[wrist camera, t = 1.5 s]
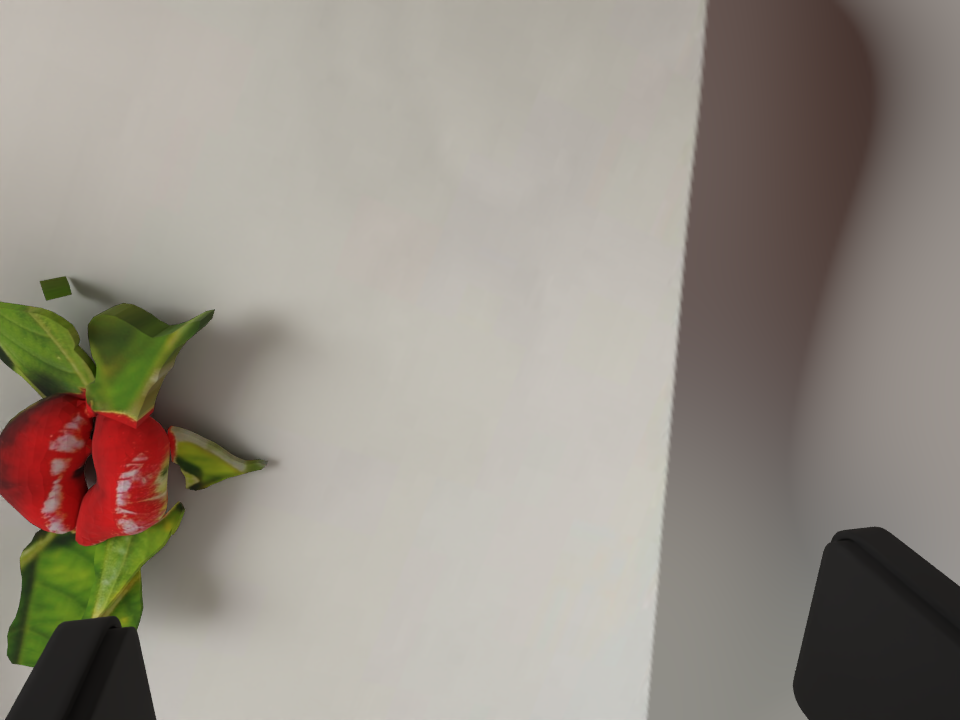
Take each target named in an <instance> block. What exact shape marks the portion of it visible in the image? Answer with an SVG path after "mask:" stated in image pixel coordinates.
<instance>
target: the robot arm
mask: <svg viewBox="0 0 960 720" xmlns="http://www.w3.org/2000/svg"><path fill="white" fill-rule="evenodd" d="M793 690H794V695H795V698H796V701H797V703H798V705H799V707H800V708H801V710H802V711H803V713H804V714H805V715H806V717H807V718H808V719H809V720H960V586H958V585H957V584H956V583H955V582H953V581H952V580H951V579H949V578H948V577H947V576H945V575H944V574H943V573H942V572H940V571H939V570H938V569H936V568H935V567H934V566H933V565H931V564H930V563H929V562H927V561H926V560H925V559H923V558H922V557H921V556H920V555H918V554H917V553H916V552H914V551H913V550H912V549H911V548H909V547H908V546H907V545H905V544H904V543H903V542H902V541H900V540H899V539H898V538H896V537H895V536H894V535H892V534H891V533H890V532H888V531H887V530H885V529H883V528H880V527H867V528H859V529H850V530H843V531H839V532H837V533H836V534H835V535H834V536H833V538H832V541H831V543H829V544H827V546H826V547H825V549H824V552H823V556H822V560H821V565H820V569H819V573H818V577H817V582H816V586H815V590H814V595H813V599H812V603H811V607H810V612H809V616H808V620H807V625H806V629H805V633H804V637H803V641H802V646H801V650H800V654H799V659H798V663H797V667H796V671H795V676H794V680H793ZM5 720H156V716H155V712H154V707H153V702H152V698H151V693H150V688H149V684H148V679H147V674H146V670H145V665H144V660H143V656H142V651H141V646H140V642H139V637H138V633H137V630H136V629H135V627H132V626H130V627H122V626H121V623H120V620H119V619H118V618H117V617H116V616H107V617H98V618H90V619H81V620H73V621H64V622H62V623H61V624H59V625H58V626H57V628H56V629H55V630H54V632H53V634H52V636H51V637H50V639H49V641H48V643H47V645H46V646H45V648H44V650H43V652H42V654H41V656H40V657H39V659H38V661H37V663H36V665H35V666H34V668H33V670H32V672H31V674H30V675H29V677H28V679H27V681H26V683H25V685H24V686H23V688H22V690H21V692H20V694H19V695H18V697H17V699H16V701H15V703H14V705H13V706H12V708H11V710H10V712H9V714H8V715H7V717H6V719H5Z"/></svg>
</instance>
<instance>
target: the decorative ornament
mask: <svg viewBox="0 0 960 720" xmlns="http://www.w3.org/2000/svg"><path fill="white" fill-rule="evenodd" d="M40 284H41V287H42V290H43V293H44V296H45V298H46V301H47V300H51V299H55V298H59V297H63V296H67V295H71V294H72V293H71V290H70V286H69V283H68V281H67V278H66V276H64V277H59V278H54V279H49V280H44V281H40ZM214 311H215V309H214V310H210V311H206V312H204V313H202V314H200V315H198V316H197V317H195V318H193V319H191V320H190V321H187V322H184V323H181V324H176V325H168V324H166V323H164V322H162V321H160V320H159V319H158V318H156V317H155V316H153V315H152V314H150V313H149V312H147V311H145V310H144V309H142V308H140V307H137V306H135V305H132V304H126V303H123V304H119V305H116V306H114V307H112V308H110V309H108V310H106V311H104V312H102V313H100V314H98V315H96V316H95V317H93V319H92V320H91V321H90V323H89V324H88V338H89V344H90V349H91V354H92V357H93V359H94V361H95V363H96V365H95V364H94V362H93V361H92V359H91V358H90V357H89V356H88V355H87V354H86V352H85V351H84V350H83V349H82V348H81V347H80V346H79V345H78V344H79V341H80V338H79V335H78V333H77V331H76V329H75V328H74V326H73V325H72V324H71V323H70V322H68V321H67V320H65V319H64V318H62V317H61V316H59V315H57V314H56V313H54V312H52V311H49V310H46V309H43V308H38V307H32V306H25V305H19V304H12V303H4V302H0V359H1V360H2V361H3V362H4V363H5V364H6V365H7V366H8V367H10V368H11V369H12V370H13V371H15V372H16V373H17V374H19V375H20V376H22V377H23V378H24V379H25V380H26V381H27V382H28V383H29V384H30V385H31V386H32V387H33V388H34V389H35V390H36V391H37V392H38V394H39V395H40V396H41V397H42V398H43V399H41V400H39V401H37V402H35V403H34V404H32V405H30V406H29V407H27V408H26V409H24V410H23V411H21V412H19V413H18V414H17V415H16V416H15V417H14V418H12V419H11V420H10V421H9V422H8V424H7V425H6V427H5V428H4V429H3V431H2V433H1V435H0V494H1V495H2V496H3V498H4V499H5V500H6V501H7V502H8V503H10V504H11V505H12V506H13V507H14V508H15V509H16V510H17V511H18V512H19V513H20V514H21V515H22V516H24V517H25V518H26V519H27V520H28V521H29V522H30V523H32V524H33V525H35V526H37V527H39V528H41V530H39V531H38V532H37V533H36V534H35V536H34V538H33V540H32V541H31V543H30V544H29V545H28V546H27V547H26V548H25V549H24V550H23V552H22V554H21V557H20V569H21V575H22V591H21V599H20V604H19V608H18V611H17V614H16V618H15V619H14V621H13V622H12V624H11V626H10V628H9V631H8V635H7V639H8V649H7V656H8V658H9V660H10V661H11V663H12V664H19V665H24V666H29V667H34V666H35V665H36V663H37V661H38V659H39V657H40V656H41V654H42V652H43V650H44V648H45V646H46V645H47V643H48V641H49V639H50V637H51V636H52V634H53V632H54V630H55V629H56V628H57V626H58V625H59V624H61V623H62V622H64V621H73V620H81V619H90V618H98V617H107V616H116V617H117V618H118V619H119V620H120V623H121V626H122V627H130V626H132V627H135V629H136V630H137V629H138V626H139V622H140V619H141V615H142V611H143V600H142V581H141V567H142V566H143V564H145V563H146V562H147V561H148V560H149V559H150V558H151V557H153V556H154V555H155V554H156V553H157V552H159V551H160V550H161V549H162V548H163V547H164V546H165V545H166V543H167V541H168V540H169V538H170V537H171V535H174V533H175V532H176V530H177V529H178V527H179V525H180V522H181V520H182V517H183V515H184V512H185V509H184V507H183V505H182V503H181V502H180V501H178V502H177V503H176V504H175V505H174V507H173V508H172V509H170V510H169V511H168V512H167V513H166V514H165V512H166V510H167V502H168V491H167V478H168V468H169V460H170V450H171V458H172V462H174V463H176V464H178V465H180V469H181V472H182V473H183V475H184V476H185V480H186V488H187V489H191V490H195V491H197V490H201V489H205V488H207V487H209V486H210V485H212V484H215V483H217V482H220V481H222V480H225V479H227V478H230V477H234V476H238V475H241V474H245V473H248V472H252V471H257V470H261V469H262V468H264V467H265V466H266V465H267V463H268V461H264V460H261V459H258V460H243V459H240V458H238V457H236V456H234V455H232V454H230V453H229V452H228V451H226V450H225V449H224V448H222V447H221V446H219V445H218V444H216V443H215V442H212V441H210V440H208V439H206V438H204V437H202V436H200V435H198V434H196V433H193V432H191V431H189V430H186V429H183V428H180V427H175V426H170V427H169V428H168V434H167V433H166V431H165V430H164V428H163V427H162V426H161V425H160V424H159V423H158V422H157V421H156V420H154V419H153V418H152V417H150V415H151V414H152V413H153V412H154V405H155V400H156V397H157V394H158V392H159V390H160V387H161V385H162V382H163V380H164V378H165V376H166V375H167V373H168V372H169V371H170V369H171V368H172V367H173V366H174V363H175V359H176V357H177V355H178V353H179V351H180V350H181V348H182V347H183V346H184V344H185V343H186V342H187V341H188V340H189V339H190V338H191V337H192V336H194V335H195V334H196V333H197V332H198V331H200V330H201V329H202V328H203V327H204V326H206V325H207V324H208V322H209V321H210V320H211V319H212V318H213V314H214ZM93 417H96V421H95V428H94V433H93V438H92V440H91V438H90V435H91V432H92V428H93ZM169 442H170V443H169ZM91 454H92V458H93V462H94V466H95V470H96V475H97V479H96V484H95V485H93V486H92V487H91V488H90V489H89V490H88V487H87V484H86V480H85V475H84V467H85V463H86V460H87V458H88V456H90V455H91ZM164 514H165V515H164Z"/></svg>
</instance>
